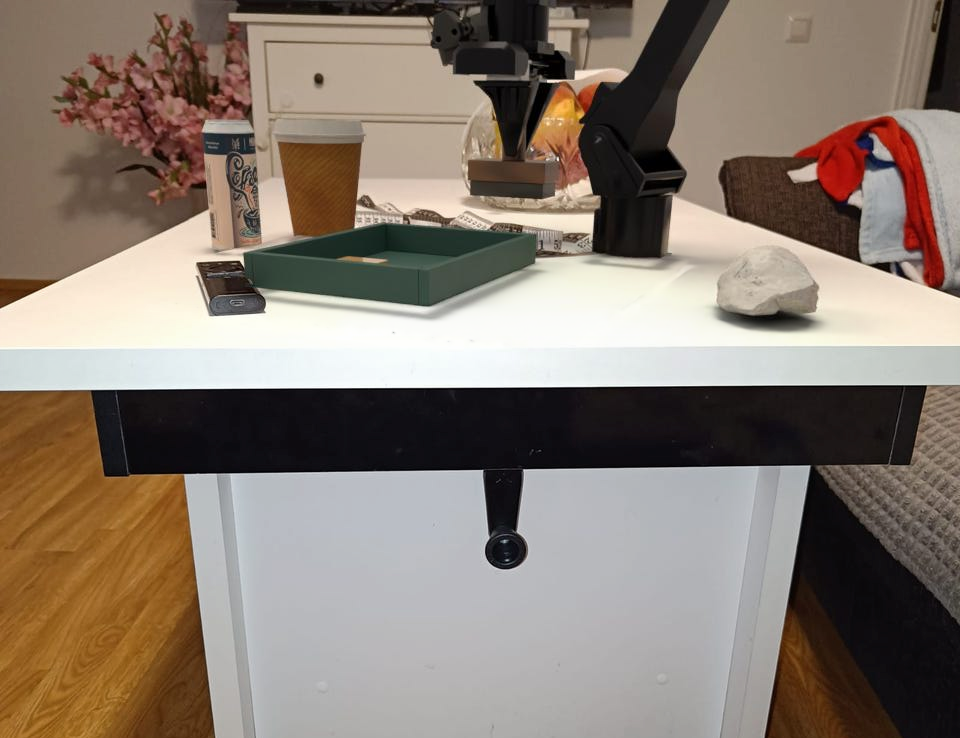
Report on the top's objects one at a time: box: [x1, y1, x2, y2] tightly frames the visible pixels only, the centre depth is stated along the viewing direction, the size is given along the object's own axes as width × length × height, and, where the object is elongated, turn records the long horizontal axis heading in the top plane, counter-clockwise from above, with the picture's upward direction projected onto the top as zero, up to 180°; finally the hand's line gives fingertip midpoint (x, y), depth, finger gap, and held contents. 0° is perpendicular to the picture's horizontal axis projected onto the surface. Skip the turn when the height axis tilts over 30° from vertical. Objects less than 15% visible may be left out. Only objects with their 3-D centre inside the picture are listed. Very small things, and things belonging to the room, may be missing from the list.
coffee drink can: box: [201, 119, 263, 253], centre depth 89 cm, size 5×5×12 cm
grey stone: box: [716, 244, 820, 317], centre depth 67 cm, size 9×8×5 cm
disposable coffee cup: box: [271, 118, 367, 238], centre depth 97 cm, size 10×10×12 cm
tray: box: [242, 221, 537, 308], centre depth 77 cm, size 16×22×3 cm
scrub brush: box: [467, 124, 560, 200], centre depth 95 cm, size 8×4×8 cm, turn 67°
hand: (515, 155), depth 95 cm, fingers closed on scrub brush, 2 cm apart
